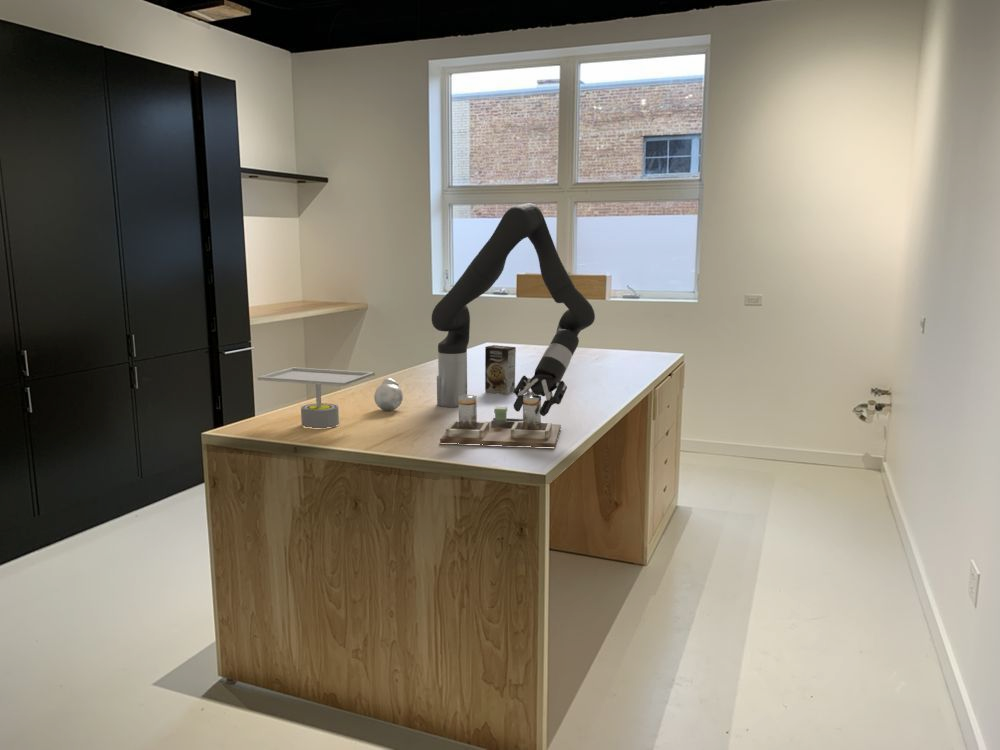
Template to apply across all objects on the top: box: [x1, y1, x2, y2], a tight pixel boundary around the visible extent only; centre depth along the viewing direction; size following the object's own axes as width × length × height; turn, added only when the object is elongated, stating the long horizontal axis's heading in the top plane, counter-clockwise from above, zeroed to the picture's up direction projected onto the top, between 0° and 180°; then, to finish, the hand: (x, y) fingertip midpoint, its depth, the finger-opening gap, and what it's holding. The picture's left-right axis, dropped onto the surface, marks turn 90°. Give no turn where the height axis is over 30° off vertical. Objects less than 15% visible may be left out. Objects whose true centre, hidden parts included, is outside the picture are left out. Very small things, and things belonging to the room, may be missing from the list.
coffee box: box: [484, 344, 517, 395], centre depth 260 cm, size 9×6×16 cm
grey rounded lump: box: [373, 377, 404, 412], centre depth 234 cm, size 9×10×10 cm
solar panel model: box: [257, 366, 376, 428], centre depth 214 cm, size 28×17×15 cm, turn 71°
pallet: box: [439, 417, 562, 448], centre depth 203 cm, size 30×20×4 cm, turn 81°
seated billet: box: [458, 394, 478, 430], centre depth 200 cm, size 5×5×10 cm
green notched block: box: [493, 406, 508, 421], centre depth 209 cm, size 3×3×5 cm
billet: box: [522, 395, 542, 430], centre depth 200 cm, size 5×5×10 cm
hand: (528, 412), depth 198 cm, fingers open, 8 cm apart
